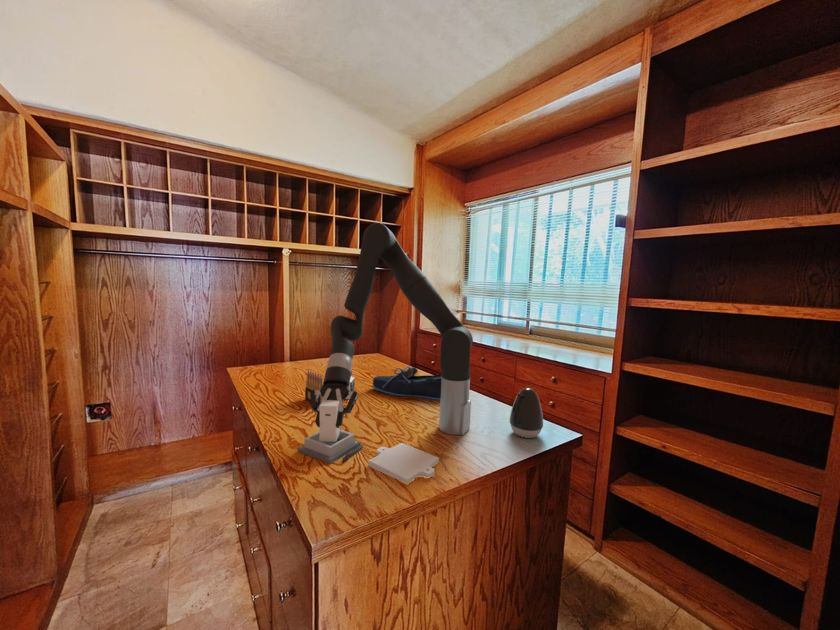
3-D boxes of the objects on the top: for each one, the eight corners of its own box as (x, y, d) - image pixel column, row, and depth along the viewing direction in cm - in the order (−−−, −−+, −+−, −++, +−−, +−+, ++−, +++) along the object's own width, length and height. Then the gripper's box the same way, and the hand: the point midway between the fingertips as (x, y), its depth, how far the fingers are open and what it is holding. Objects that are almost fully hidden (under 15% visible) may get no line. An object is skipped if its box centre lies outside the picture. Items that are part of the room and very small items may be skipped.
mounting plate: (361, 464, 89) (361, 456, 89) (394, 446, 100) (395, 439, 99) (415, 491, 78) (416, 483, 78) (446, 468, 89) (447, 461, 89)
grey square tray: (360, 445, 98) (360, 433, 98) (330, 464, 88) (330, 450, 88) (329, 434, 104) (329, 423, 104) (297, 451, 94) (297, 439, 93)
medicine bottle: (350, 399, 136) (351, 369, 134) (332, 398, 136) (332, 369, 134) (354, 393, 143) (354, 365, 141) (337, 392, 143) (337, 364, 142)
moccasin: (378, 385, 156) (378, 359, 155) (454, 391, 151) (455, 365, 150) (368, 394, 142) (369, 367, 141) (452, 402, 137) (453, 373, 136)
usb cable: (360, 446, 98) (361, 443, 98) (363, 447, 97) (363, 444, 97) (341, 461, 90) (341, 457, 89) (344, 462, 89) (344, 458, 89)
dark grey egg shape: (501, 433, 110) (504, 386, 108) (520, 425, 116) (523, 381, 115) (530, 445, 102) (533, 395, 101) (548, 436, 109) (551, 389, 107)
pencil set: (304, 399, 134) (304, 369, 132) (309, 398, 135) (309, 368, 134) (319, 407, 126) (319, 375, 125) (324, 406, 128) (324, 374, 127)
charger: (339, 434, 98) (340, 400, 97) (335, 441, 94) (336, 406, 93) (323, 433, 98) (324, 399, 97) (319, 441, 94) (319, 405, 93)
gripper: (312, 364, 101) (298, 420, 90) (360, 365, 102) (352, 422, 91) (317, 376, 107) (304, 430, 96) (363, 378, 107) (355, 432, 97)
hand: (328, 426), depth 94 cm, fingers closed on charger, 4 cm apart
